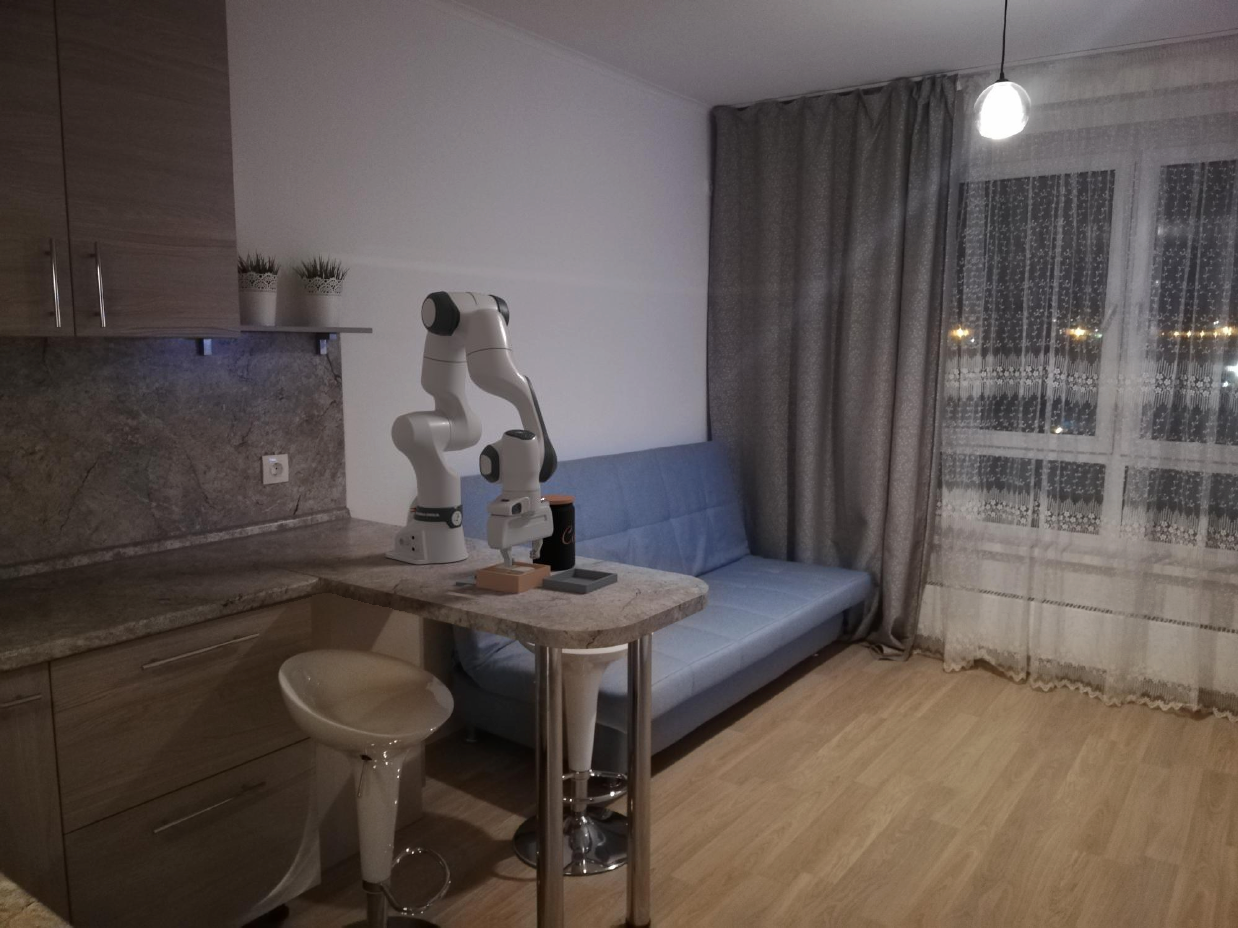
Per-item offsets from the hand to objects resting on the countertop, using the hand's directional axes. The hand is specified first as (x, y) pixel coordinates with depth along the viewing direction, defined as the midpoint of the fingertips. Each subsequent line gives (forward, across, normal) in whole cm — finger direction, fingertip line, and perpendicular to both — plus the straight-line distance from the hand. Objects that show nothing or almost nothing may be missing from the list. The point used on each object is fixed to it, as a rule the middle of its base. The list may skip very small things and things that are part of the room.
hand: (522, 562), depth 209 cm
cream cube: (+6, 0, -4) cm, 7 cm away
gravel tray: (+6, -8, +10) cm, 15 cm away
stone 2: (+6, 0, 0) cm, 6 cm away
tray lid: (+6, 0, -12) cm, 14 cm away
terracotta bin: (+6, 0, -2) cm, 7 cm away
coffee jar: (+6, -20, -6) cm, 22 cm away
